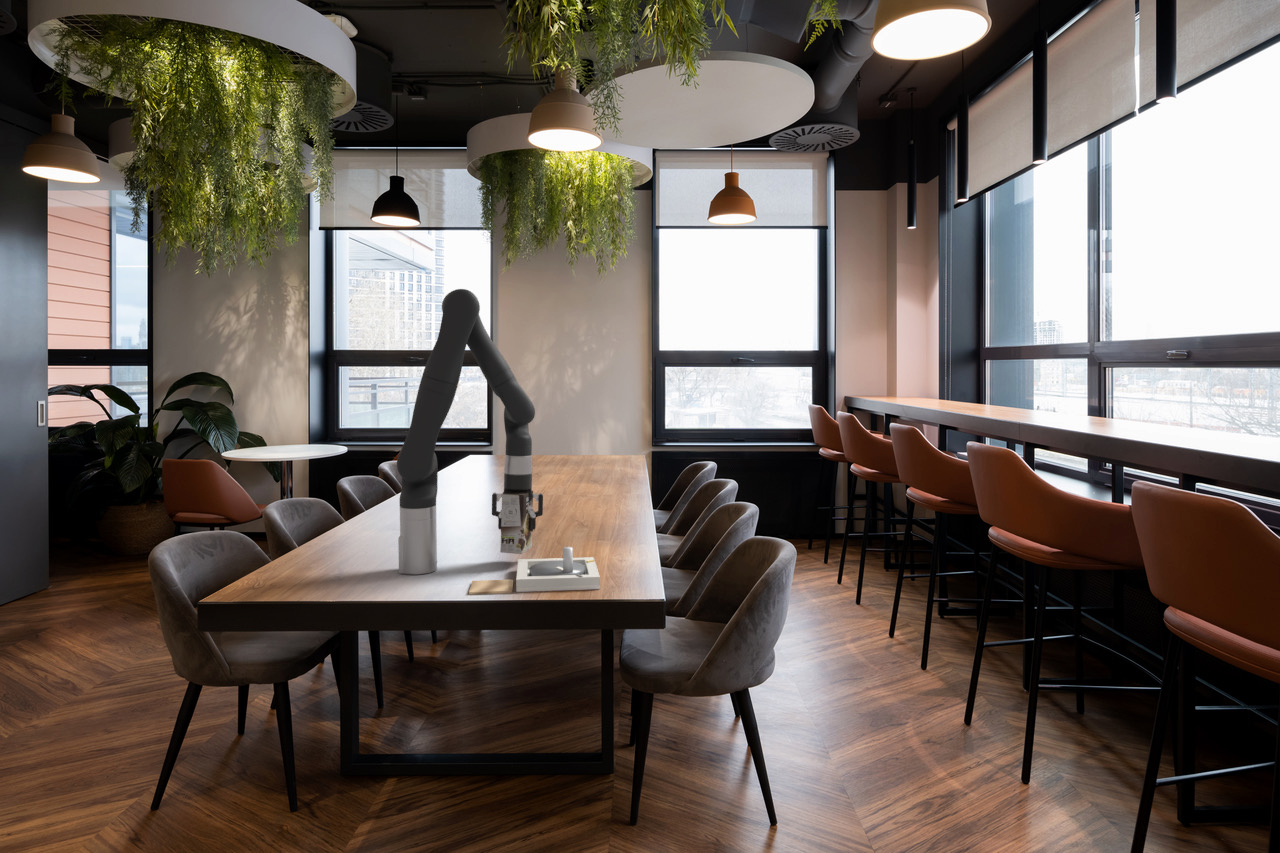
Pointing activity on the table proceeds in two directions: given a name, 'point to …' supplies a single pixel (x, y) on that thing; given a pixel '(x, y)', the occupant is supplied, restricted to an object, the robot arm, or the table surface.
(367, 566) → the table surface
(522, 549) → the coffee box
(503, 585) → the coaster
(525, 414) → the robot arm
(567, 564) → the dial
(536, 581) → the white square tray
